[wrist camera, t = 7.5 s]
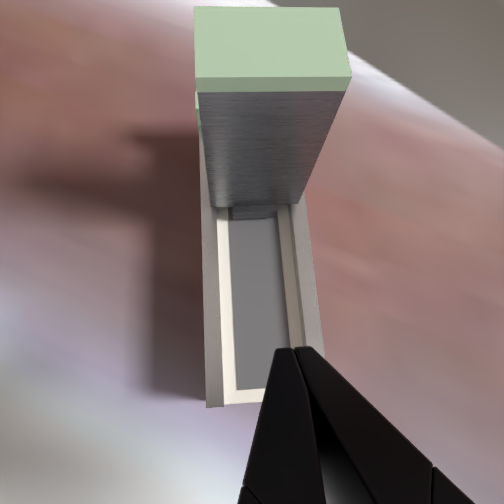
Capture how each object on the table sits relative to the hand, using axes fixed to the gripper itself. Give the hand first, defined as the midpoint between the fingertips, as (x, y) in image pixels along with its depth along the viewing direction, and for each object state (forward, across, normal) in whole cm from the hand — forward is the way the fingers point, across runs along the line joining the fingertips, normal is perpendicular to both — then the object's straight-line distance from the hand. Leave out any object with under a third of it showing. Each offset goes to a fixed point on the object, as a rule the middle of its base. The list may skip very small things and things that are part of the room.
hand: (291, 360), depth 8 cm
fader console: (+10, 0, +3) cm, 11 cm away
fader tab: (+11, 0, -1) cm, 11 cm away
